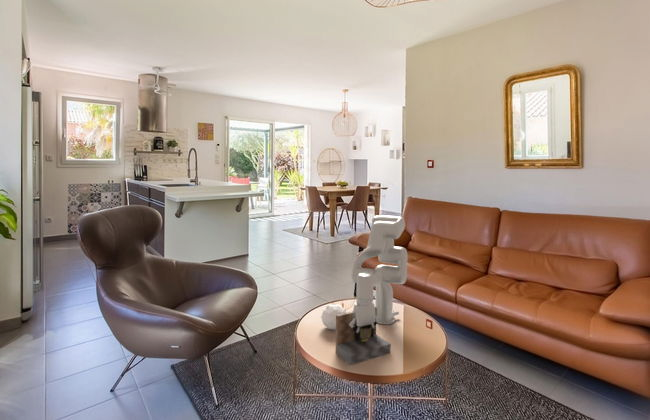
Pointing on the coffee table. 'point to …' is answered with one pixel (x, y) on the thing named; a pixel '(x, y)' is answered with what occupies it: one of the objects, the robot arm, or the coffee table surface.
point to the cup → (365, 333)
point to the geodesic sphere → (331, 315)
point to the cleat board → (357, 342)
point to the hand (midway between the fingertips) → (363, 337)
